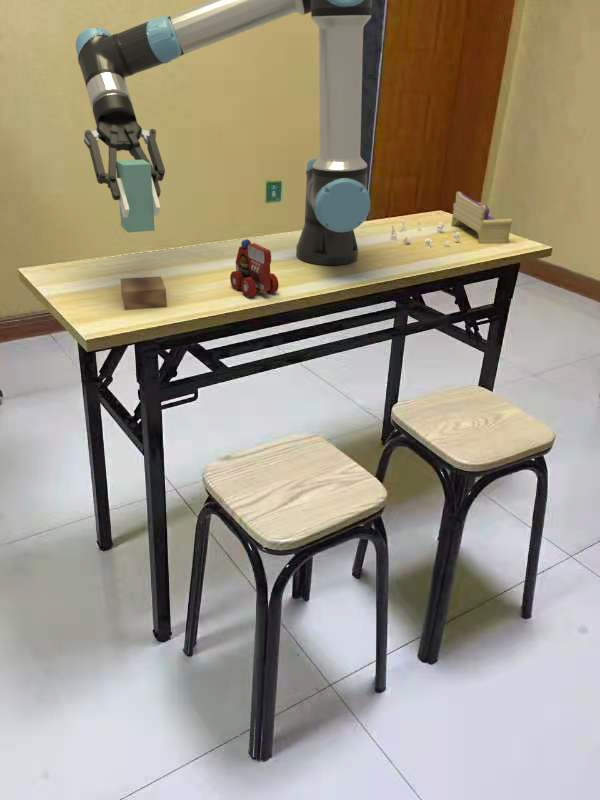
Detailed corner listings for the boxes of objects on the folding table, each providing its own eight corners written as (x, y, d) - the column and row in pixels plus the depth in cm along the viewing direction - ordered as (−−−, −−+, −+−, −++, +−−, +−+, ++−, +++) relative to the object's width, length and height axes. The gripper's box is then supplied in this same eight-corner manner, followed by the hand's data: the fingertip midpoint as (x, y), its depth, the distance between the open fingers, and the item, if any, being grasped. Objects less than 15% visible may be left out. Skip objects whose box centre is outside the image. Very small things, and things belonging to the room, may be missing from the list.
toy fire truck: (253, 280, 151) (253, 233, 146) (282, 297, 142) (284, 247, 137) (225, 284, 148) (224, 236, 143) (253, 302, 139) (253, 252, 134)
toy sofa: (509, 244, 186) (516, 206, 181) (479, 245, 184) (486, 206, 179) (476, 225, 204) (482, 190, 199) (449, 225, 202) (454, 190, 197)
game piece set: (424, 227, 200) (426, 214, 198) (475, 244, 186) (477, 230, 184) (373, 235, 190) (374, 221, 189) (422, 253, 176) (423, 238, 174)
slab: (161, 294, 141) (160, 276, 139) (167, 308, 135) (165, 289, 133) (122, 297, 139) (120, 278, 137) (125, 311, 132) (123, 291, 131)
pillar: (146, 224, 133) (142, 159, 127) (154, 230, 129) (150, 164, 124) (121, 226, 131) (115, 160, 125) (128, 232, 127) (123, 165, 121)
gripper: (154, 118, 137) (185, 220, 132) (61, 119, 130) (90, 227, 125) (161, 92, 131) (193, 197, 126) (63, 91, 123) (93, 204, 118)
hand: (142, 212), depth 125 cm, fingers closed on pillar, 5 cm apart
